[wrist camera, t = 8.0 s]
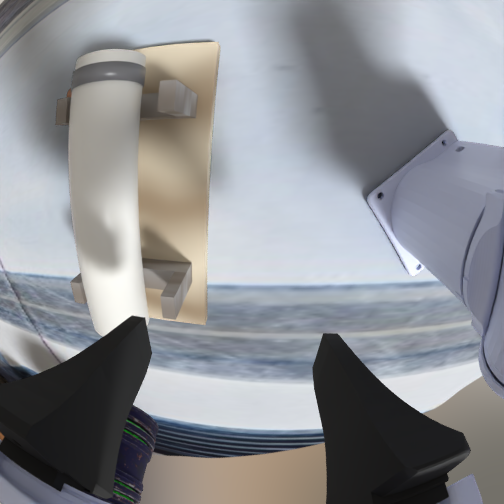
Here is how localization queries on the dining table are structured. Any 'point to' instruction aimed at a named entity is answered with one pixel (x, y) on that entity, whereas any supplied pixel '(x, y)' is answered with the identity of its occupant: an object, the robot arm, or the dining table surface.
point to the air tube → (107, 183)
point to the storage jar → (133, 458)
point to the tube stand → (172, 177)
